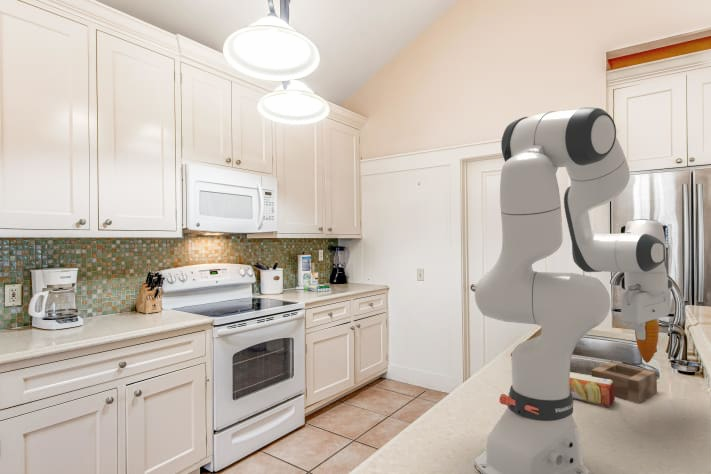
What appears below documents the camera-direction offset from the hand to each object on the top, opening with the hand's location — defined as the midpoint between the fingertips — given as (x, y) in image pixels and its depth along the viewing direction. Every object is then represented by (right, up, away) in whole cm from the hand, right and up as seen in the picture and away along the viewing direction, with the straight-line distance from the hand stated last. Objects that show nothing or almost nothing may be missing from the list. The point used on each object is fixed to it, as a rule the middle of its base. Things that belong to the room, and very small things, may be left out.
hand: (646, 337), depth 103 cm
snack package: (-13, -20, +13) cm, 27 cm away
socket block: (+4, -19, +14) cm, 24 cm away
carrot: (0, -7, 0) cm, 7 cm away
